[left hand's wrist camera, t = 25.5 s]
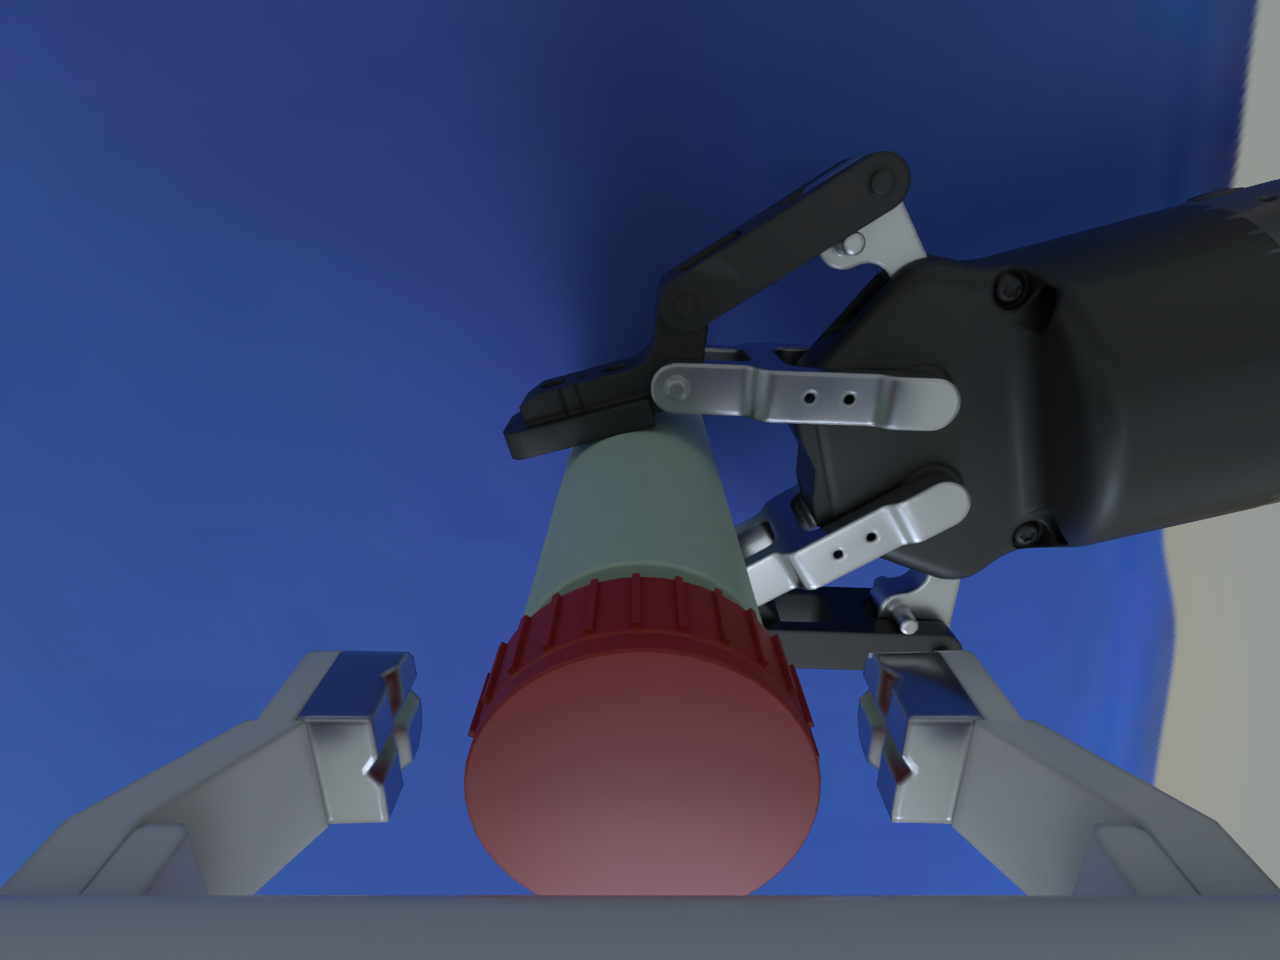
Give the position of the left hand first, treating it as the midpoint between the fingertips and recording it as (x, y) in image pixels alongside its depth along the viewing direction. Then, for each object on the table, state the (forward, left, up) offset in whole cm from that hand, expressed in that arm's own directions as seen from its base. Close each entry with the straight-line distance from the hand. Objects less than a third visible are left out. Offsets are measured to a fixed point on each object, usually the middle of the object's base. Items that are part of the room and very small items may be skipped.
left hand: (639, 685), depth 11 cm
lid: (0, 0, +2) cm, 2 cm away
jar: (0, 0, -15) cm, 15 cm away
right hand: (-1, -3, -8) cm, 9 cm away
